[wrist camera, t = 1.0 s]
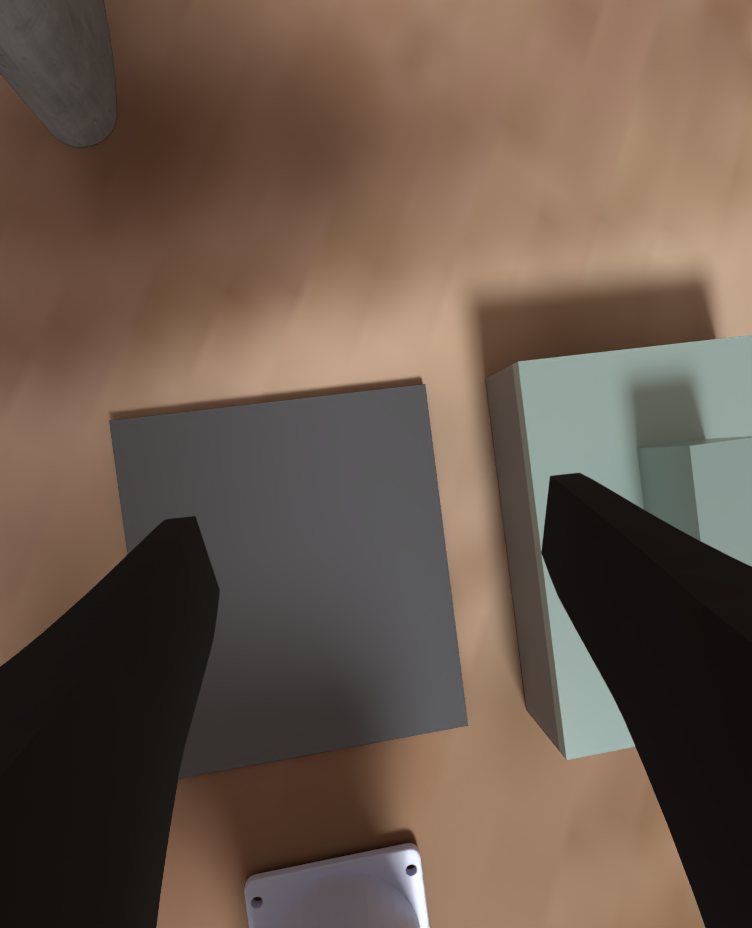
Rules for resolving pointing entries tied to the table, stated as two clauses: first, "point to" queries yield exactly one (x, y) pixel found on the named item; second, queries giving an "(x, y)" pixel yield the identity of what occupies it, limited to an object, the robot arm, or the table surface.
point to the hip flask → (61, 65)
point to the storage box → (521, 550)
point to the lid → (635, 477)
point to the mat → (307, 569)
